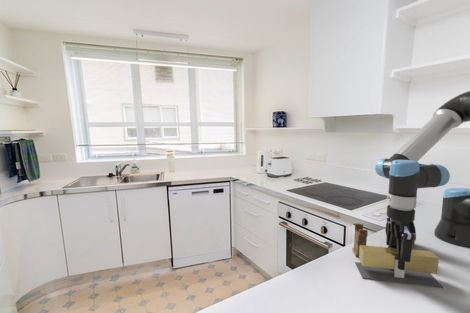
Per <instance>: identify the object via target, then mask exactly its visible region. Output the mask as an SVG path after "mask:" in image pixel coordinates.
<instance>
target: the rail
mask: <svg viewBox="0 0 470 313" xmlns="http://www.w3.org/2000/svg"><path fill="white" fill-rule="evenodd" d="M394 257H397V248H388V247H387V246H375V245H367V244H366V245H360V250H359V257H358V260H359V263H361V264H362V266H369V267H378V268H387V269H394V267H395V258H394ZM439 262H440V258H439V256H437V255H436V254H435V253H434V252H433V251H429V250H421V249H420V250H419V249H414V250H411V259H410V262H405V271H414V272H423V273H430V274H431V275H432V274H435V275H438V271H439Z"/></svg>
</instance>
